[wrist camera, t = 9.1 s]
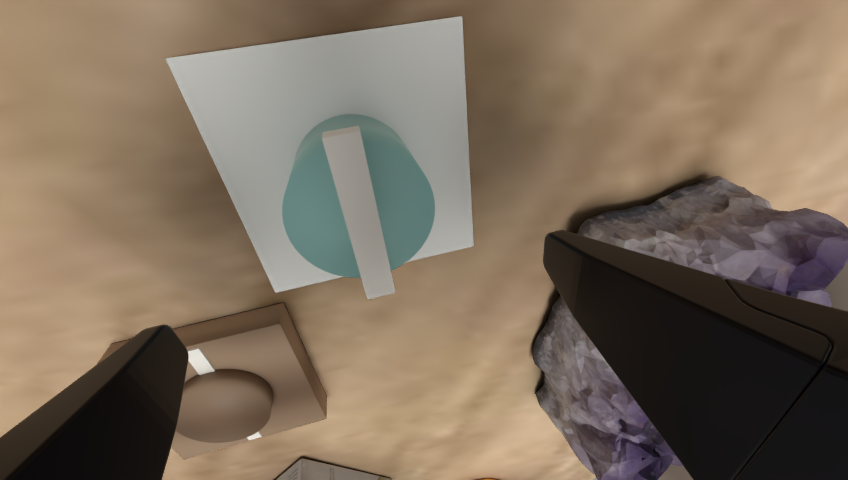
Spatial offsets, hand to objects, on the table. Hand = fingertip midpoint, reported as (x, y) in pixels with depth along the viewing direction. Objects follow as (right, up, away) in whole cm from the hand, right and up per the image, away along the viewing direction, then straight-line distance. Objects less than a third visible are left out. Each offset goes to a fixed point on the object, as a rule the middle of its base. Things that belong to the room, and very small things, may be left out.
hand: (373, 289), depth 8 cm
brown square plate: (-9, -6, +11) cm, 15 cm away
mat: (-2, +4, +6) cm, 8 cm away
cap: (-2, +4, +6) cm, 7 cm away
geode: (+14, -3, +16) cm, 21 cm away
